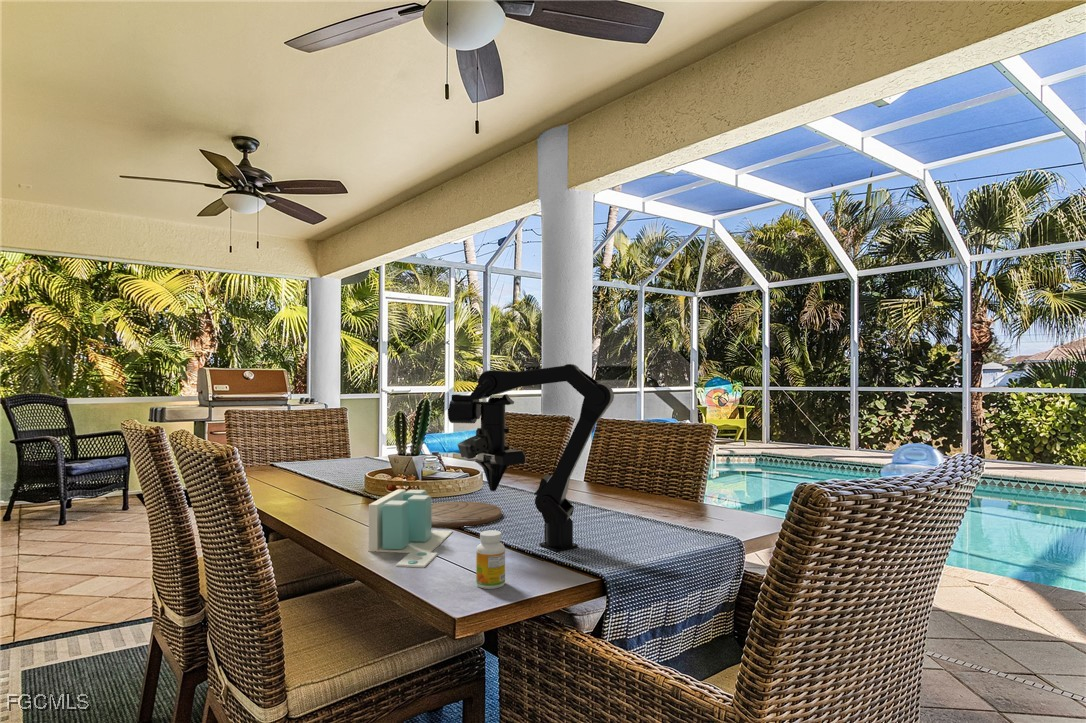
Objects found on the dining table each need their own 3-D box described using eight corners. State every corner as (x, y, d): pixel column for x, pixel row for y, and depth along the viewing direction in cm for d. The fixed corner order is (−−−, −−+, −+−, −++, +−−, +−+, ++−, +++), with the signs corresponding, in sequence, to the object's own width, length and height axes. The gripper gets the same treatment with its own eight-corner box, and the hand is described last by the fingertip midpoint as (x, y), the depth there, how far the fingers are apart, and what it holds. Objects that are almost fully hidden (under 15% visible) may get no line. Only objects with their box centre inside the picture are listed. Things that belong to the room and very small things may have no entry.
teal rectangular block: (426, 529, 159) (426, 489, 159) (421, 534, 154) (421, 493, 154) (409, 528, 159) (409, 489, 159) (403, 533, 155) (403, 492, 155)
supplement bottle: (473, 581, 122) (473, 530, 122) (500, 578, 124) (500, 528, 124) (480, 591, 117) (480, 537, 117) (508, 587, 119) (508, 535, 119)
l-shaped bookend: (452, 532, 158) (452, 490, 158) (429, 553, 140) (429, 506, 140) (398, 530, 160) (398, 489, 160) (368, 551, 142) (368, 504, 142)
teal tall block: (408, 543, 146) (409, 500, 146) (401, 549, 141) (402, 504, 141) (390, 542, 146) (390, 500, 146) (382, 548, 142) (382, 504, 142)
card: (437, 554, 139) (437, 552, 139) (424, 567, 130) (424, 564, 130) (411, 553, 140) (411, 551, 140) (396, 566, 131) (396, 563, 131)
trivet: (518, 513, 180) (518, 506, 180) (467, 534, 158) (467, 526, 158) (445, 504, 192) (445, 498, 192) (389, 522, 170) (389, 515, 170)
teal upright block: (431, 536, 152) (431, 495, 152) (425, 541, 147) (425, 499, 147) (413, 536, 152) (413, 494, 152) (406, 541, 148) (406, 498, 148)
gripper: (443, 423, 152) (443, 488, 152) (484, 429, 137) (484, 502, 137) (483, 420, 158) (483, 483, 158) (527, 426, 144) (527, 495, 143)
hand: (493, 490), depth 149 cm, fingers closed
